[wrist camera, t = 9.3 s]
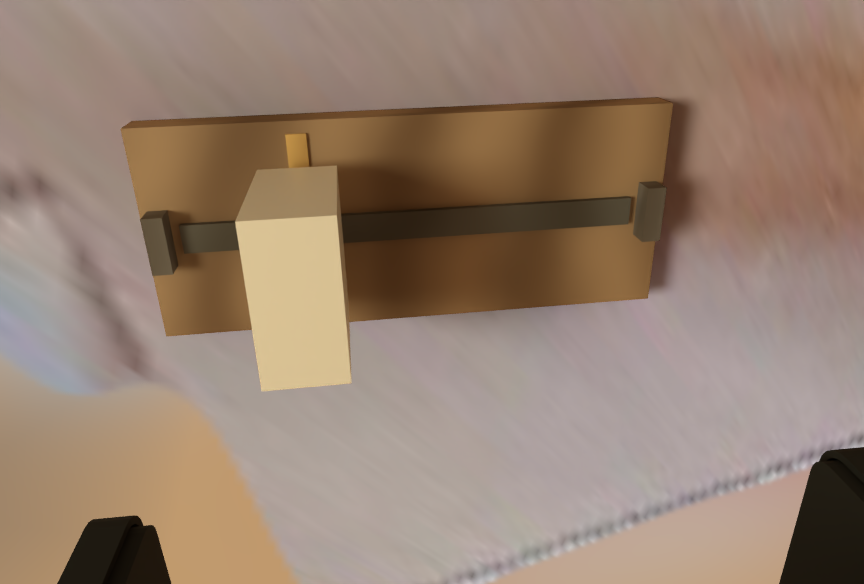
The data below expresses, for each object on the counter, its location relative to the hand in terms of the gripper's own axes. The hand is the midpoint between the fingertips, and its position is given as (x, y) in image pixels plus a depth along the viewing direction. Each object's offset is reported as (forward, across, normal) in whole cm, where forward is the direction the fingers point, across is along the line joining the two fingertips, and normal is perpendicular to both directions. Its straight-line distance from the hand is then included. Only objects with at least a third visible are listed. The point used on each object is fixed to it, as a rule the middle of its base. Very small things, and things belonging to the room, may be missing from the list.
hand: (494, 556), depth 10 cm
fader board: (+21, 0, +2) cm, 21 cm away
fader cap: (+19, +4, +2) cm, 20 cm away
